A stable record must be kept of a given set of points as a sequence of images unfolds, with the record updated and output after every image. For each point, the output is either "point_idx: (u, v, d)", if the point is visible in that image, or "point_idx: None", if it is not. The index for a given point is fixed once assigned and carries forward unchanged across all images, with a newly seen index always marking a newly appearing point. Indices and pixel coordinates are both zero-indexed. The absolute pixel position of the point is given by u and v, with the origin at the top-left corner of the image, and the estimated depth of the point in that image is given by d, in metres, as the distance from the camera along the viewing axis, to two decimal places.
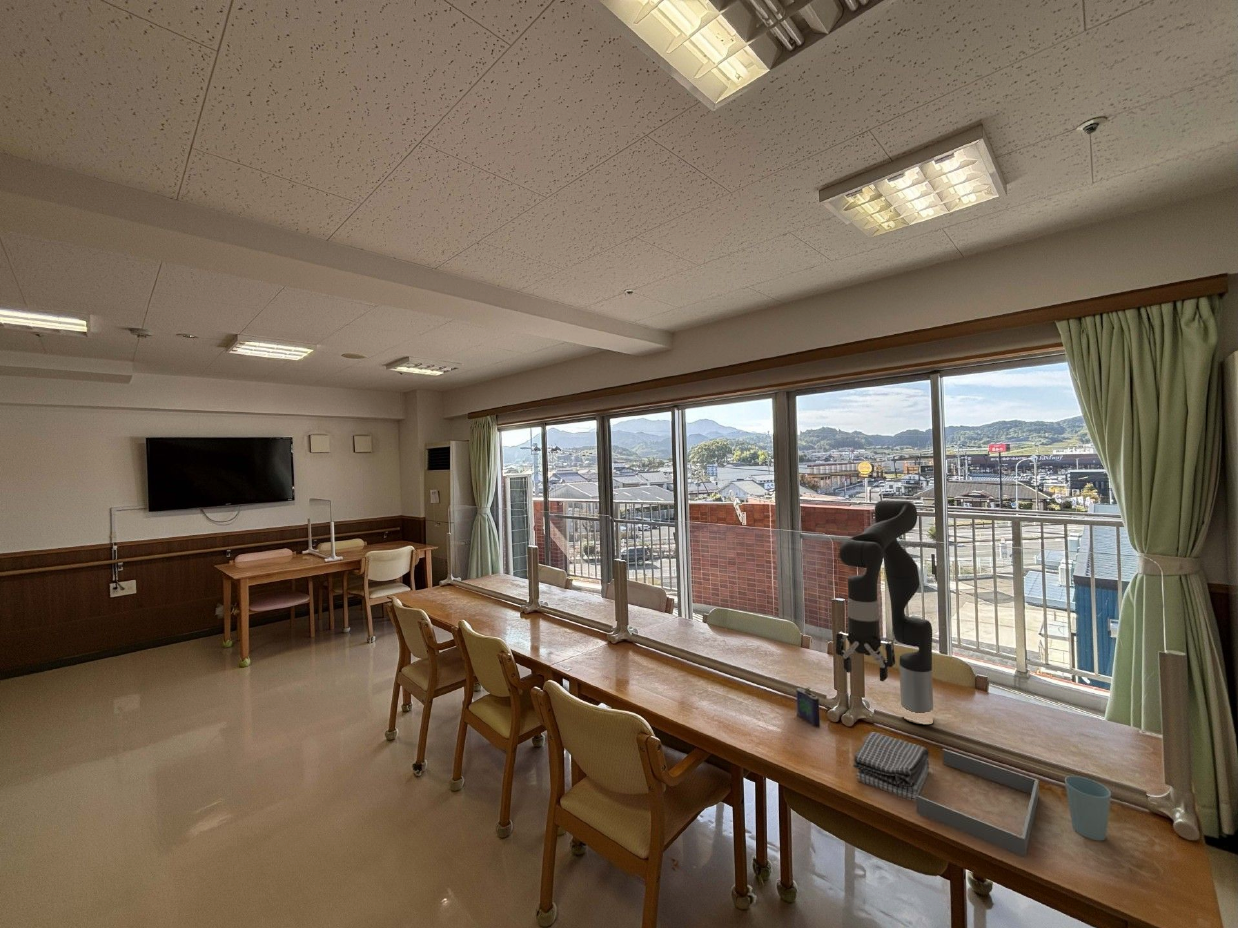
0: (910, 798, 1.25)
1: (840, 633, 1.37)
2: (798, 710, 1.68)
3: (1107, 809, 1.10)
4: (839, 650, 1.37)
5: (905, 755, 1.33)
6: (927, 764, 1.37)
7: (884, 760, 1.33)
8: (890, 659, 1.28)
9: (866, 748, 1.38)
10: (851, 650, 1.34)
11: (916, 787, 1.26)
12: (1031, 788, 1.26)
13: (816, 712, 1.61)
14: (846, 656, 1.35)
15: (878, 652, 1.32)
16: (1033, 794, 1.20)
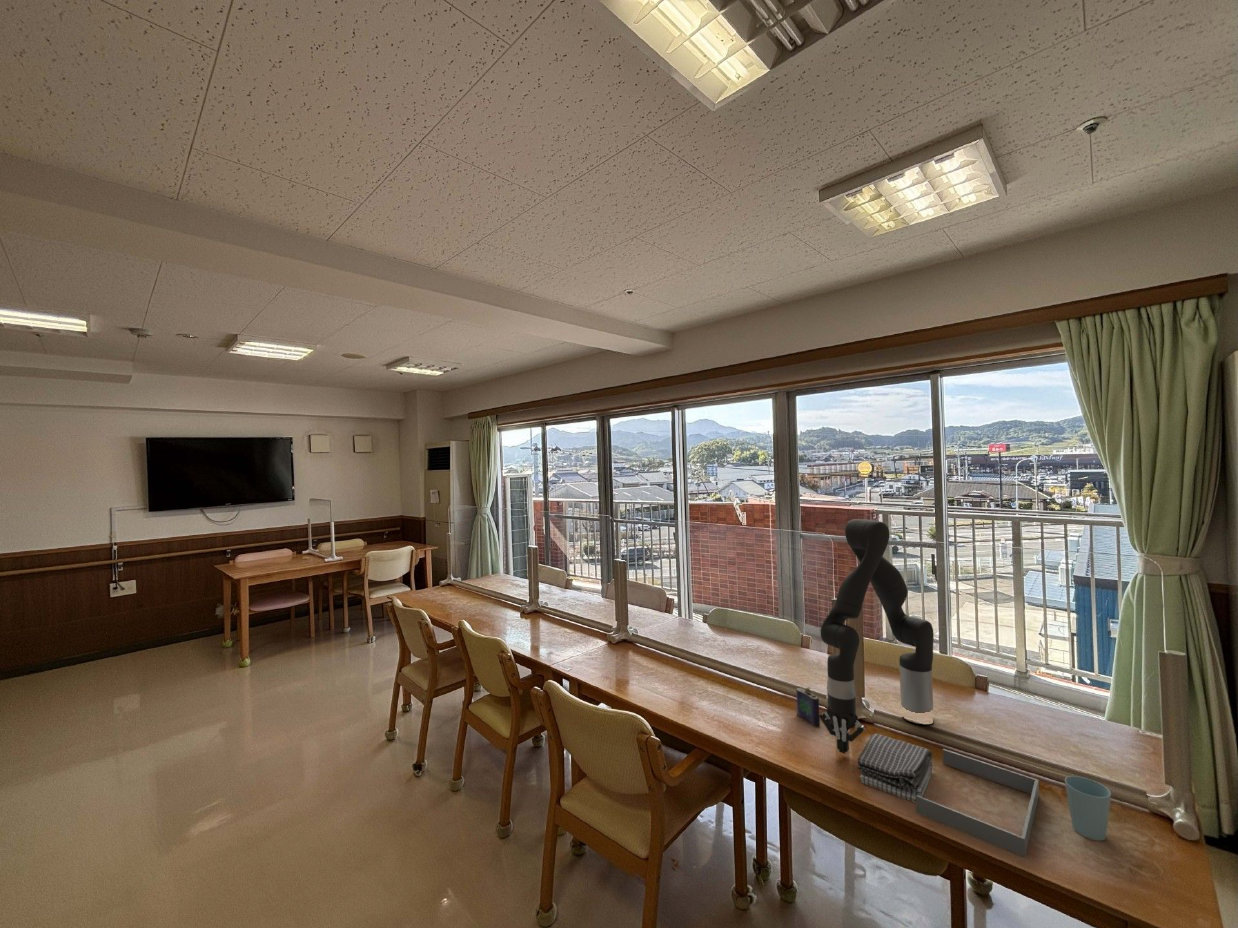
0: (914, 800, 1.24)
1: (822, 714, 1.48)
2: (798, 710, 1.68)
3: (1107, 809, 1.10)
4: (831, 730, 1.46)
5: (908, 757, 1.32)
6: (930, 766, 1.36)
7: (887, 762, 1.32)
8: (853, 737, 1.41)
9: (869, 750, 1.37)
10: (837, 727, 1.44)
11: (920, 789, 1.25)
12: (1031, 788, 1.26)
13: (816, 712, 1.61)
14: (838, 736, 1.44)
15: None
16: (1033, 794, 1.20)
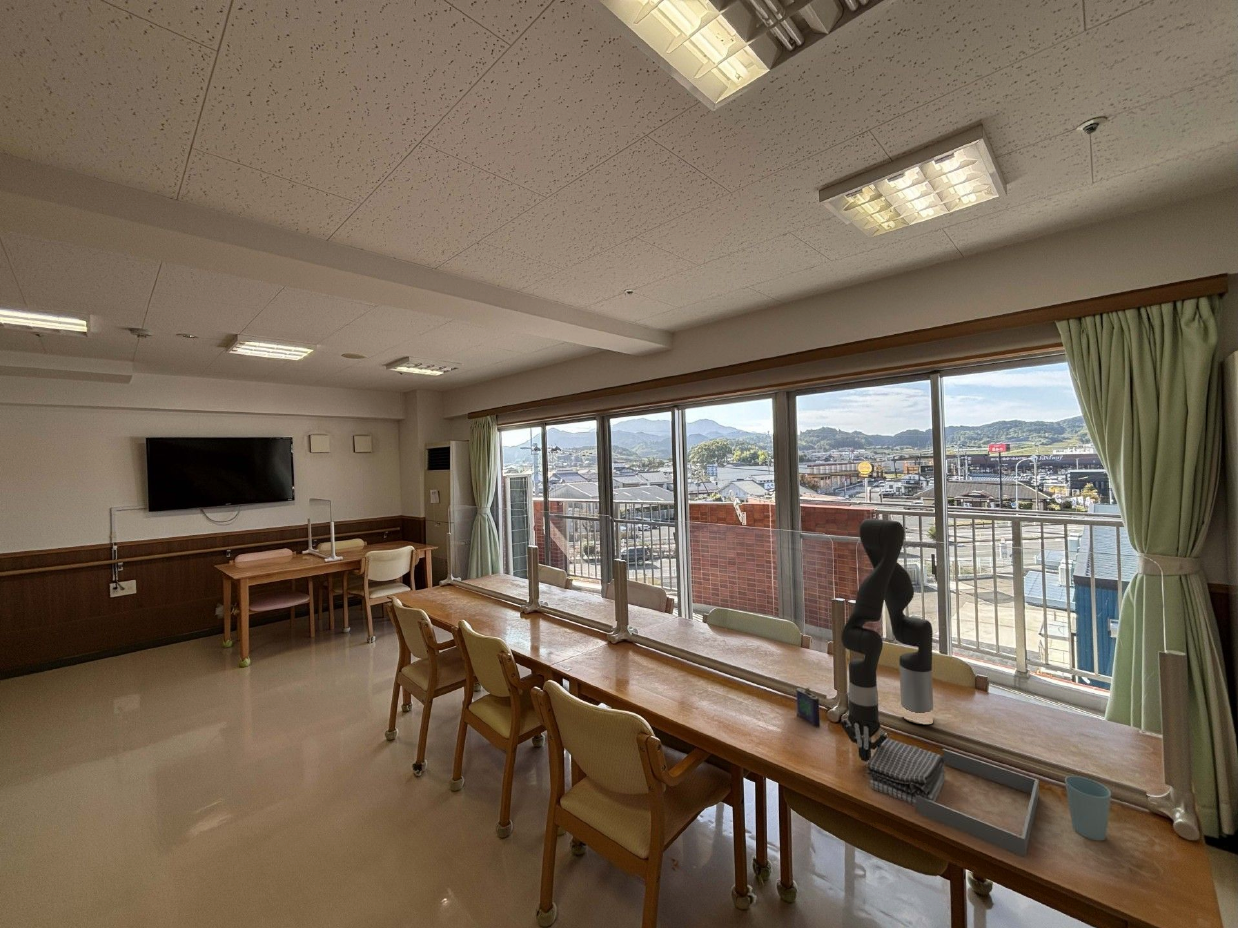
0: None
1: (842, 720, 1.44)
2: (798, 710, 1.68)
3: (1107, 809, 1.10)
4: (852, 737, 1.42)
5: (920, 763, 1.30)
6: (943, 772, 1.33)
7: (898, 767, 1.29)
8: (876, 745, 1.37)
9: (880, 755, 1.34)
10: (858, 735, 1.40)
11: (931, 796, 1.23)
12: (1031, 788, 1.26)
13: (816, 712, 1.61)
14: (860, 744, 1.40)
15: None
16: (1033, 794, 1.20)
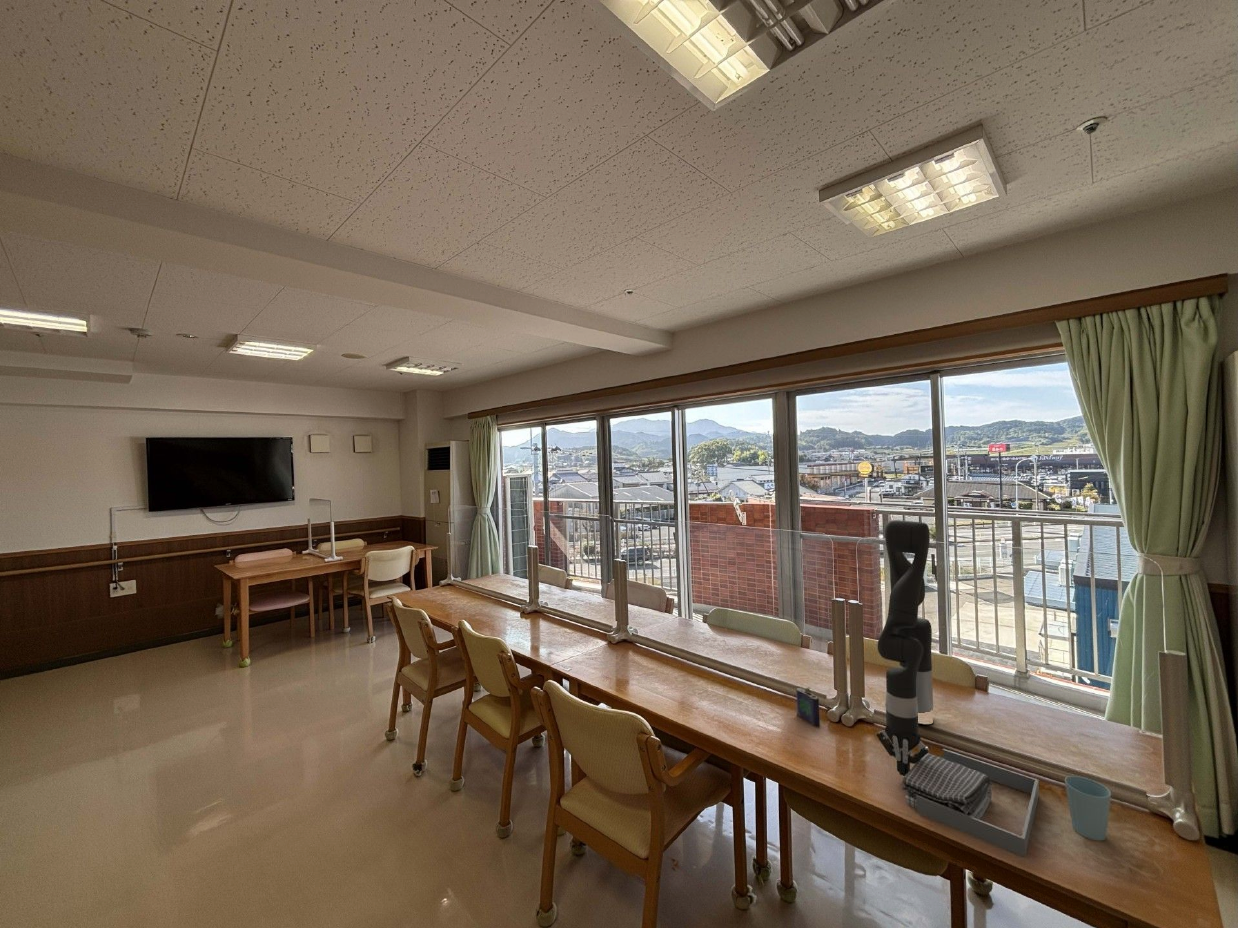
0: None
1: (879, 732, 1.37)
2: (798, 710, 1.68)
3: (1107, 809, 1.10)
4: (890, 750, 1.35)
5: (962, 781, 1.22)
6: (989, 793, 1.25)
7: (936, 784, 1.22)
8: (917, 759, 1.30)
9: (918, 770, 1.27)
10: (897, 748, 1.33)
11: None
12: (1031, 788, 1.26)
13: (816, 712, 1.61)
14: (899, 757, 1.33)
15: None
16: (1033, 794, 1.20)
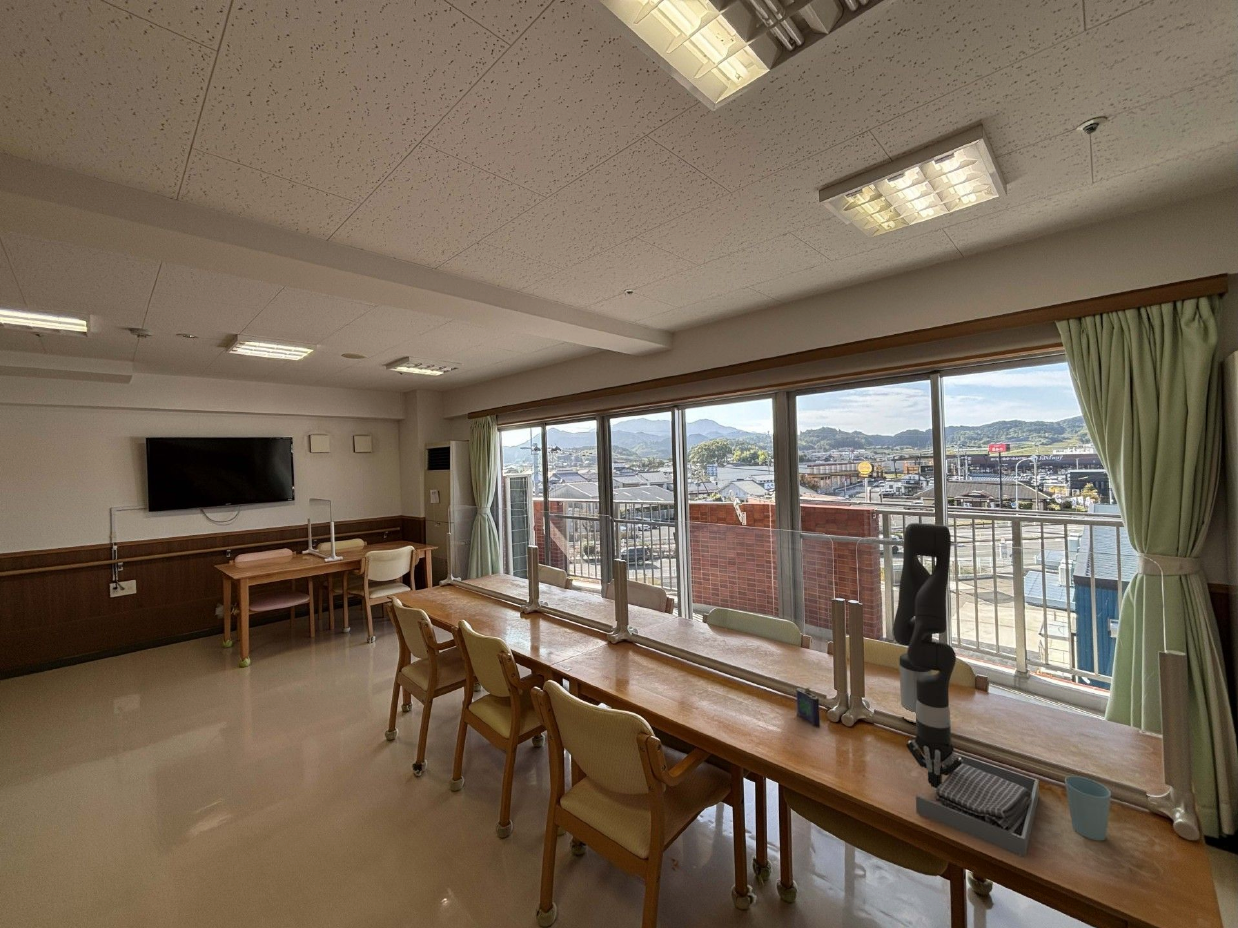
0: None
1: (908, 742, 1.32)
2: (798, 710, 1.68)
3: (1107, 809, 1.10)
4: (921, 761, 1.30)
5: (999, 794, 1.17)
6: None
7: (972, 796, 1.17)
8: (949, 770, 1.25)
9: (952, 781, 1.23)
10: (928, 759, 1.28)
11: None
12: (1031, 788, 1.26)
13: (816, 712, 1.61)
14: (930, 768, 1.28)
15: None
16: (1033, 794, 1.20)
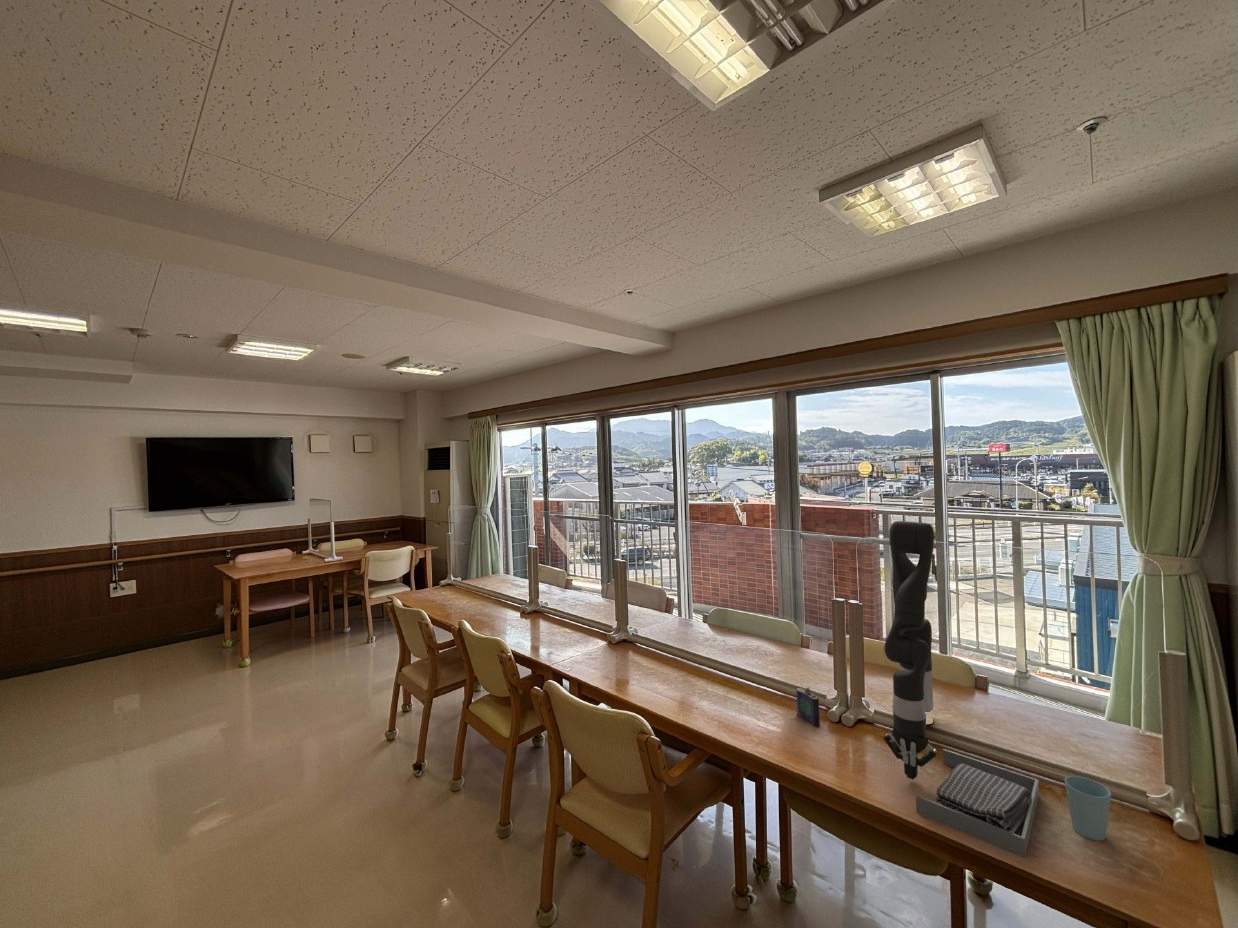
0: None
1: (886, 735, 1.36)
2: (798, 710, 1.68)
3: (1107, 809, 1.10)
4: (897, 753, 1.34)
5: (1000, 794, 1.17)
6: None
7: (973, 797, 1.17)
8: (925, 762, 1.29)
9: (952, 782, 1.22)
10: (904, 751, 1.32)
11: None
12: (1031, 788, 1.26)
13: (816, 712, 1.61)
14: (906, 760, 1.32)
15: None
16: (1033, 794, 1.20)
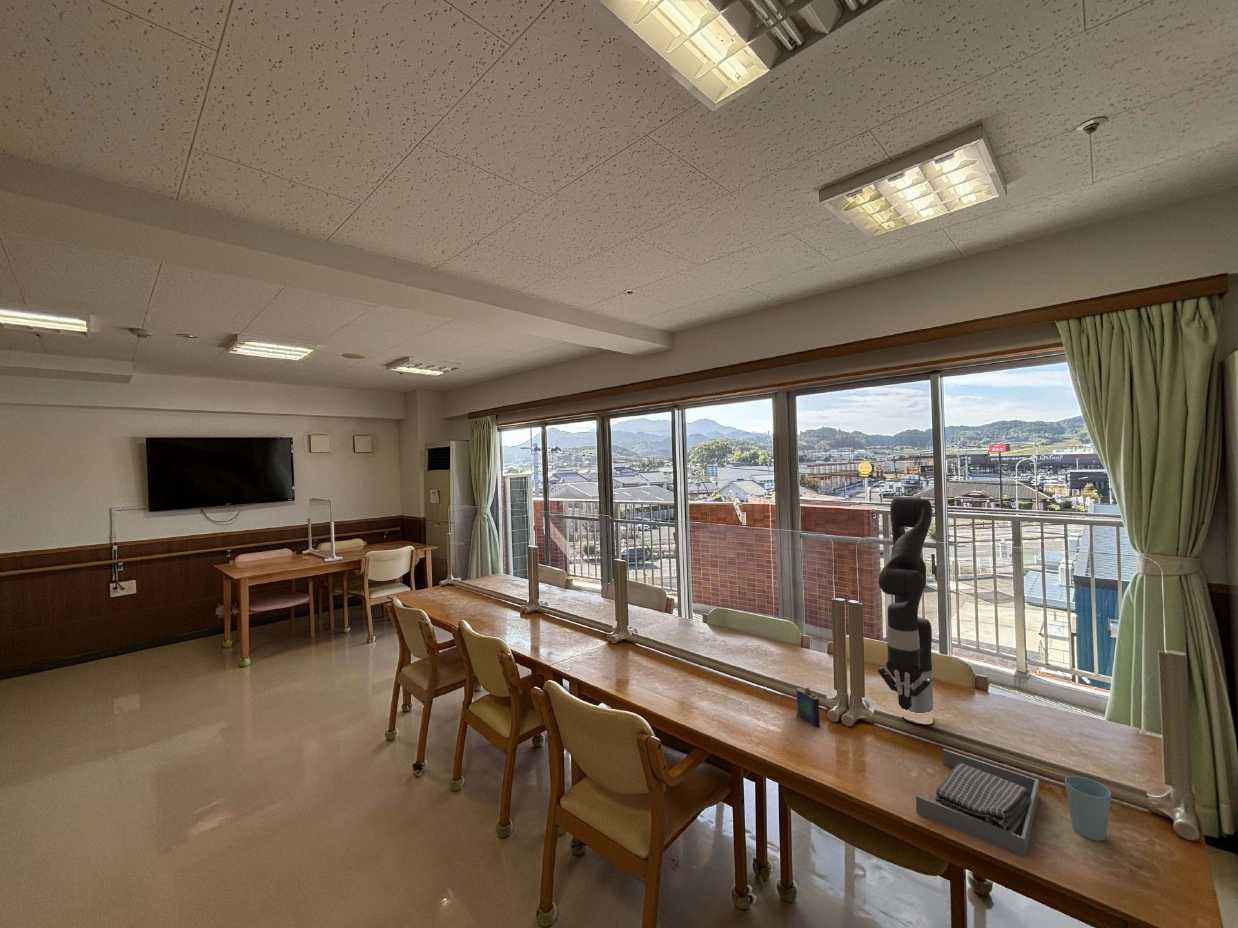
0: None
1: (880, 668, 1.36)
2: (798, 710, 1.68)
3: (1107, 809, 1.10)
4: (891, 685, 1.34)
5: (999, 794, 1.17)
6: None
7: (972, 797, 1.17)
8: (918, 691, 1.29)
9: (952, 782, 1.22)
10: (899, 682, 1.32)
11: None
12: (1031, 788, 1.26)
13: (816, 712, 1.61)
14: (900, 691, 1.32)
15: None
16: (1033, 794, 1.20)
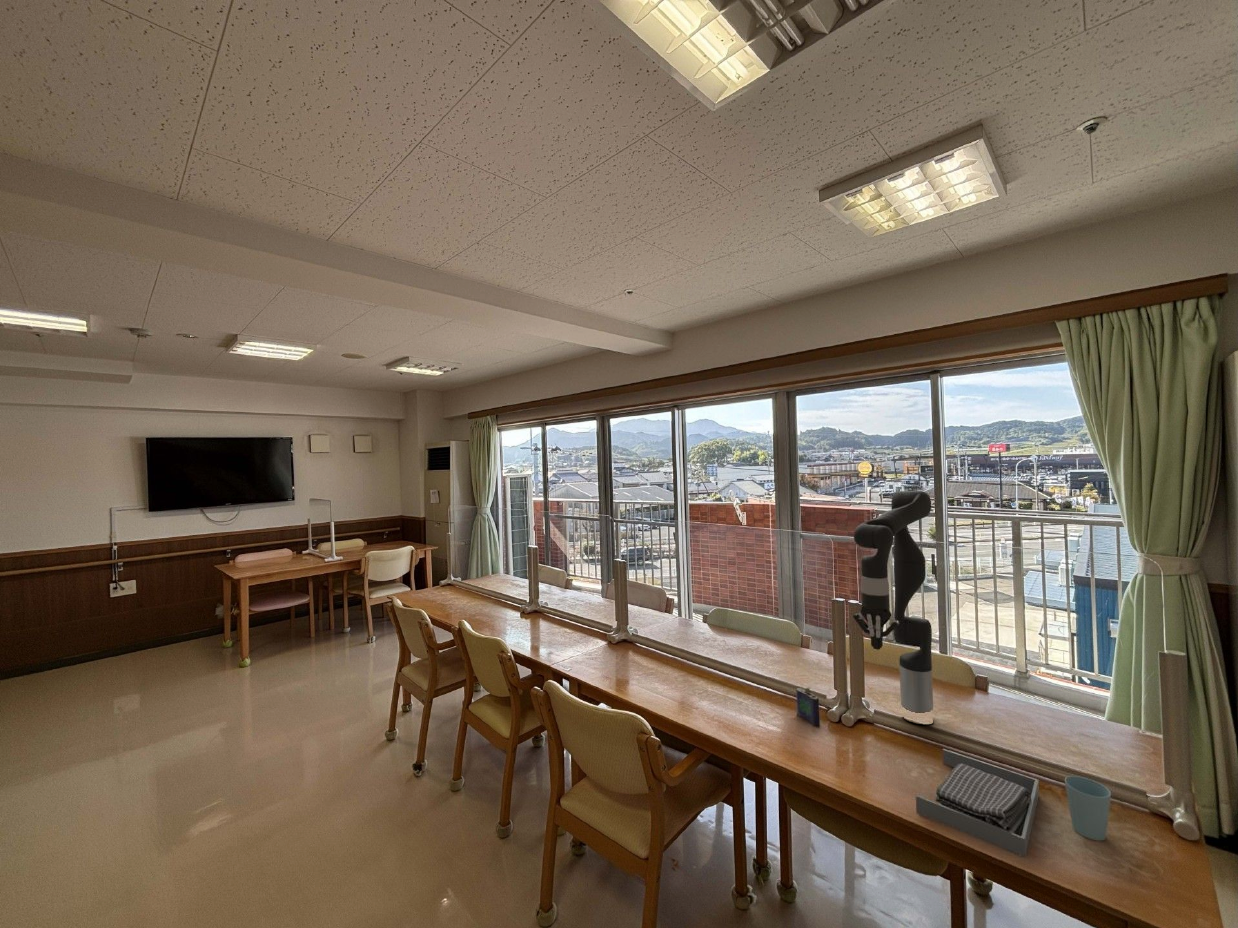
0: None
1: (855, 614, 1.54)
2: (798, 710, 1.68)
3: (1107, 809, 1.10)
4: (865, 628, 1.51)
5: (999, 794, 1.17)
6: None
7: (972, 797, 1.17)
8: (888, 632, 1.47)
9: (952, 782, 1.22)
10: (871, 624, 1.49)
11: None
12: (1031, 788, 1.26)
13: (816, 712, 1.61)
14: (872, 633, 1.50)
15: None
16: (1033, 794, 1.20)
